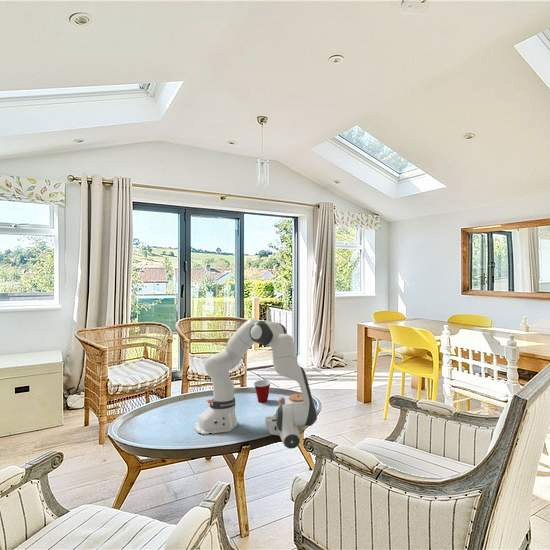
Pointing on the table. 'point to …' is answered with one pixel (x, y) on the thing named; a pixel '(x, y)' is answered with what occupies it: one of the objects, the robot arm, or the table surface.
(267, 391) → the plastic cup
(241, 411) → the table surface
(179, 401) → the table surface
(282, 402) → the lid
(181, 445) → the table surface
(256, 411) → the table surface
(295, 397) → the lidded jar
